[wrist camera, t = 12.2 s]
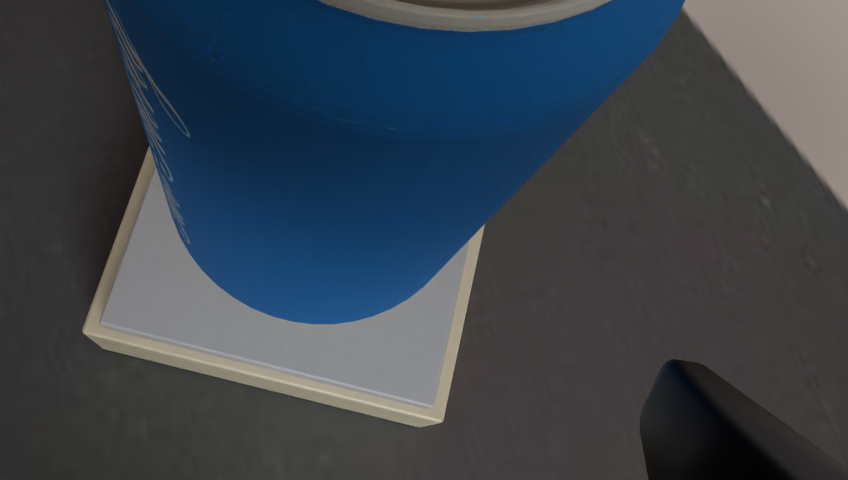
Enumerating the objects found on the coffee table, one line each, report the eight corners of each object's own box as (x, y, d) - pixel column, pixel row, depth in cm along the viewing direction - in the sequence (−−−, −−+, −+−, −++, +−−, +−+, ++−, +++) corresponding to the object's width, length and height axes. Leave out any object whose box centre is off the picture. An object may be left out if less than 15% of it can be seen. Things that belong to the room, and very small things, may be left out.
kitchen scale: (421, 428, 20) (449, 422, 17) (100, 348, 19) (74, 327, 16) (493, 101, 23) (527, 50, 20) (218, 16, 22) (213, -50, 19)
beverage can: (121, 117, 17) (-116, -519, 6) (380, 22, 19) (561, -592, 8) (247, 383, 17) (244, 209, 5) (507, 255, 18) (911, -75, 7)
